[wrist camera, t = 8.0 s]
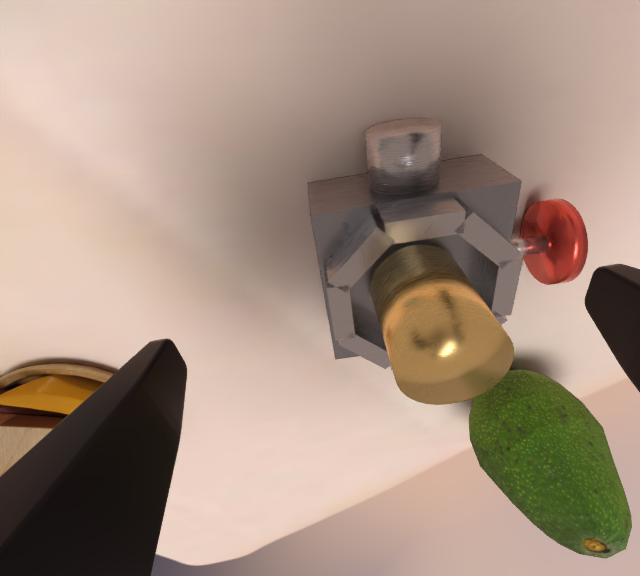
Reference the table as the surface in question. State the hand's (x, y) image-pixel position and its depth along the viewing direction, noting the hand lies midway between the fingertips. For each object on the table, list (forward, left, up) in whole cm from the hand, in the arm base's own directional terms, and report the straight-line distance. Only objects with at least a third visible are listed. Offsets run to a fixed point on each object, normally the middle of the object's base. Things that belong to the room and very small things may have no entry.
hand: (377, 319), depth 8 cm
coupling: (-3, +6, -9) cm, 11 cm away
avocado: (-11, +20, -13) cm, 26 cm away
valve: (-5, +6, -13) cm, 15 cm away
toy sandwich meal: (+22, +16, -13) cm, 31 cm away
